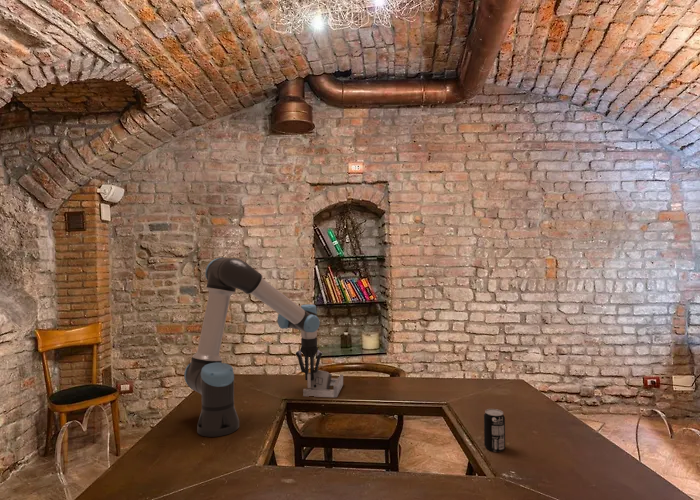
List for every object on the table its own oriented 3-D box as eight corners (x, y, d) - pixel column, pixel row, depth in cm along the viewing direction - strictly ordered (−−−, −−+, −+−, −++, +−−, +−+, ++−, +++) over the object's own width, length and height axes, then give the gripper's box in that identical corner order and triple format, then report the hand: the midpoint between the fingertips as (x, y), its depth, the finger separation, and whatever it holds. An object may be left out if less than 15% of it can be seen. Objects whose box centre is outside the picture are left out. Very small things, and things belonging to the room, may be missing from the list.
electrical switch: (310, 389, 207) (311, 369, 208) (317, 387, 211) (318, 368, 212) (324, 393, 201) (326, 373, 202) (332, 391, 205) (333, 371, 206)
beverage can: (488, 441, 149) (488, 406, 149) (508, 447, 145) (507, 411, 145) (481, 448, 144) (480, 412, 144) (500, 454, 140) (500, 417, 140)
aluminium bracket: (336, 397, 196) (336, 386, 196) (303, 396, 198) (303, 385, 198) (343, 384, 213) (343, 374, 213) (312, 383, 216) (312, 373, 216)
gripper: (324, 335, 209) (324, 385, 209) (297, 335, 211) (298, 384, 211) (320, 339, 202) (321, 390, 202) (293, 338, 204) (294, 389, 204)
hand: (309, 387), depth 207 cm, fingers closed
